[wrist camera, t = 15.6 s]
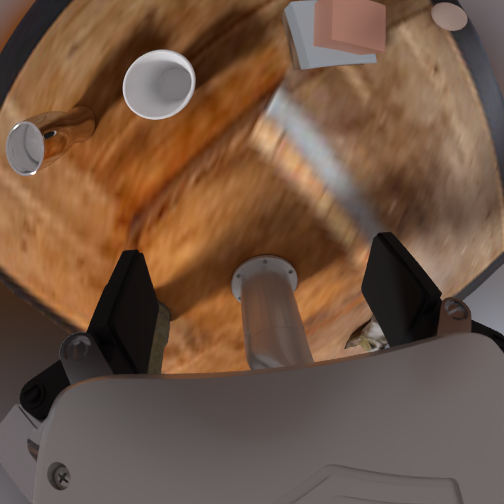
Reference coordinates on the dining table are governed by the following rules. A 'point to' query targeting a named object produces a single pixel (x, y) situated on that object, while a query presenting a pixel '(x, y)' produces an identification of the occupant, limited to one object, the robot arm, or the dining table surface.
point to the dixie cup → (159, 84)
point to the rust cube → (350, 26)
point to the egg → (449, 16)
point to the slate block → (303, 36)
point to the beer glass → (47, 138)
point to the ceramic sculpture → (369, 337)
